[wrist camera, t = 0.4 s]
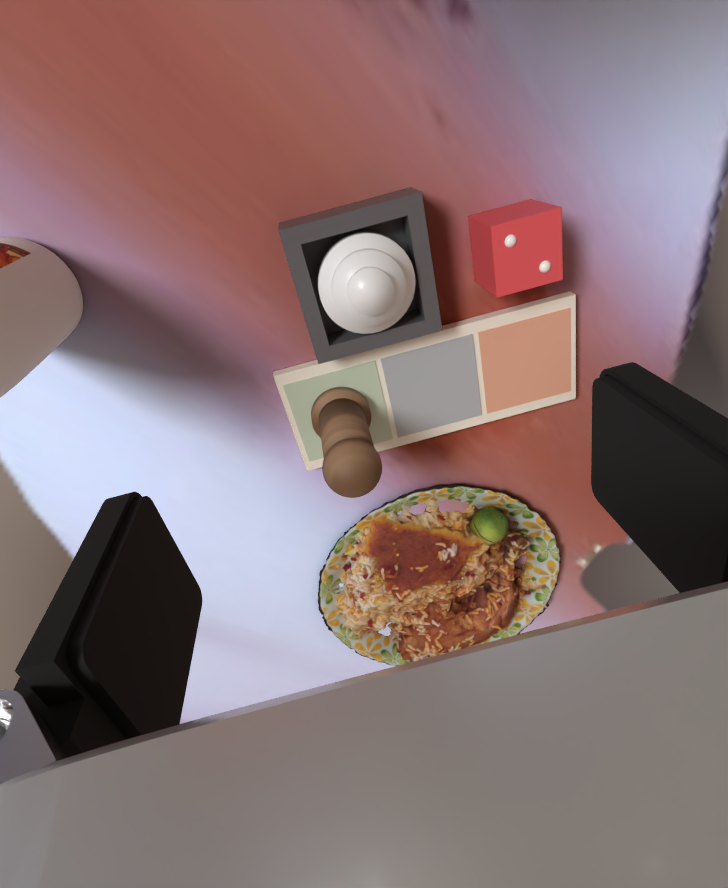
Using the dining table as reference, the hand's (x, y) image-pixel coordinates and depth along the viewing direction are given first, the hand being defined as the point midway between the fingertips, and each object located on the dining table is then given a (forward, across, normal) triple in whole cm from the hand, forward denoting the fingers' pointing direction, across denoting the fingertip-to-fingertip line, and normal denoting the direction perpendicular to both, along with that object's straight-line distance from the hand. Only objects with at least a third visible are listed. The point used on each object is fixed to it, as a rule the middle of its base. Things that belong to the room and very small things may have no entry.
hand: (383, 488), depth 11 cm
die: (+32, -14, +3) cm, 36 cm away
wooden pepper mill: (+32, +1, +14) cm, 35 cm away
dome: (+30, -3, +3) cm, 30 cm away
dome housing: (+32, -3, +3) cm, 33 cm away
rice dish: (+34, -4, +39) cm, 52 cm away
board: (+33, -7, +14) cm, 36 cm away
